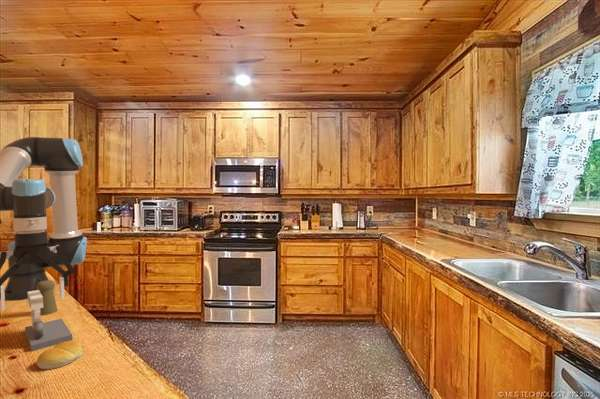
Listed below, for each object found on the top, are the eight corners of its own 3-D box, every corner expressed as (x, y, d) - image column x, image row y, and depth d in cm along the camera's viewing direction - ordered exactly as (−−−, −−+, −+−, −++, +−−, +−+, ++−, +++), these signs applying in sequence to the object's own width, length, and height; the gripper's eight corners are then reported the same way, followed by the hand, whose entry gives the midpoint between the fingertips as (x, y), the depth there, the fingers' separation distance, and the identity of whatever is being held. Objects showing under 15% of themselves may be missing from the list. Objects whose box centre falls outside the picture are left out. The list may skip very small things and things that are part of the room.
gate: (45, 336, 90) (43, 298, 90) (33, 339, 89) (31, 300, 88) (40, 324, 99) (38, 289, 99) (28, 326, 97) (27, 291, 97)
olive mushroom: (45, 315, 111) (44, 283, 111) (30, 314, 112) (29, 283, 112) (61, 309, 117) (60, 279, 116) (47, 308, 118) (46, 278, 118)
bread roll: (28, 369, 78) (28, 352, 78) (64, 351, 86) (63, 336, 86) (56, 373, 76) (55, 355, 76) (89, 354, 84) (89, 338, 84)
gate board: (25, 332, 98) (24, 327, 98) (61, 323, 104) (61, 318, 104) (31, 351, 86) (31, 345, 86) (72, 339, 92) (72, 334, 92)
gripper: (-30, 238, 84) (-26, 318, 85) (84, 228, 102) (86, 295, 103) (-29, 235, 90) (-26, 311, 91) (78, 226, 107) (81, 290, 108)
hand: (34, 303), depth 97 cm, fingers open, 13 cm apart
